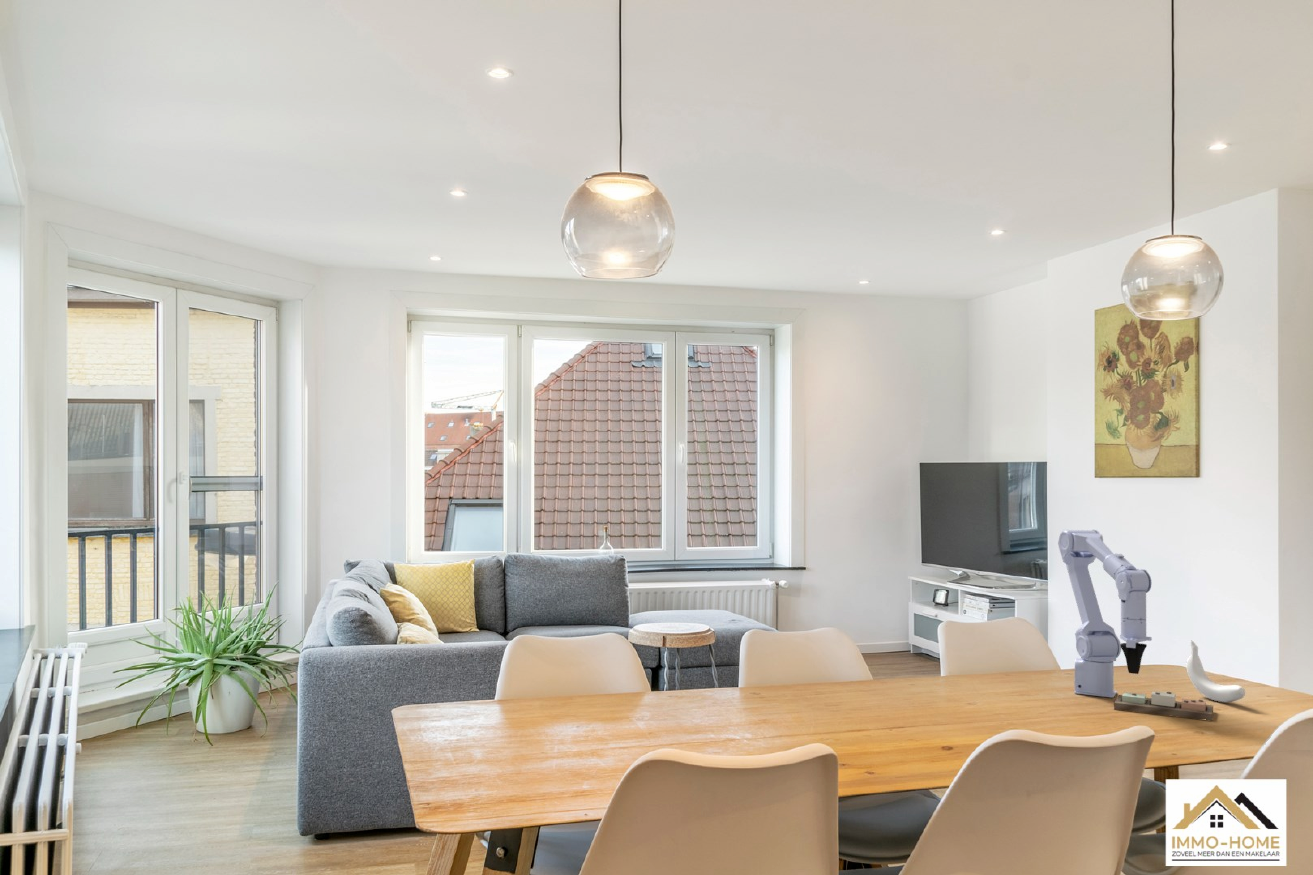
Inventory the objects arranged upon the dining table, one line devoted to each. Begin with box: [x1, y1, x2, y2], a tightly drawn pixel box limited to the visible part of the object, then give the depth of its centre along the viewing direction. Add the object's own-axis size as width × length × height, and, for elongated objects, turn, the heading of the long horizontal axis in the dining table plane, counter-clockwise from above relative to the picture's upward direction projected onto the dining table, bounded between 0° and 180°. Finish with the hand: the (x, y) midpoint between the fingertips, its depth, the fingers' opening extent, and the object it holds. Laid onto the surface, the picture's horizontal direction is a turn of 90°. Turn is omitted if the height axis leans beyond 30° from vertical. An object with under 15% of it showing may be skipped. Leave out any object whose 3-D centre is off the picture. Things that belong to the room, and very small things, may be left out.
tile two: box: [1150, 690, 1177, 707], centre depth 240 cm, size 5×5×3 cm
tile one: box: [1121, 691, 1147, 704], centre depth 243 cm, size 5×5×3 cm
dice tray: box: [1113, 694, 1214, 722], centre depth 240 cm, size 21×11×2 cm, turn 59°
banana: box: [1185, 640, 1246, 703], centre depth 252 cm, size 5×19×15 cm, turn 15°
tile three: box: [1180, 698, 1207, 711], centre depth 237 cm, size 5×5×3 cm
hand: (1133, 673), depth 244 cm, fingers closed
